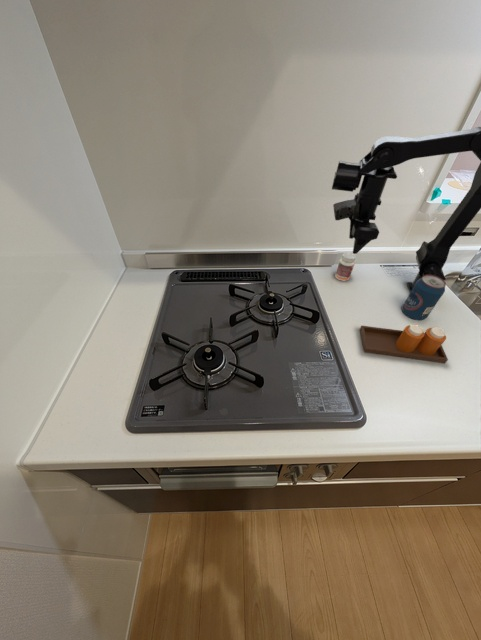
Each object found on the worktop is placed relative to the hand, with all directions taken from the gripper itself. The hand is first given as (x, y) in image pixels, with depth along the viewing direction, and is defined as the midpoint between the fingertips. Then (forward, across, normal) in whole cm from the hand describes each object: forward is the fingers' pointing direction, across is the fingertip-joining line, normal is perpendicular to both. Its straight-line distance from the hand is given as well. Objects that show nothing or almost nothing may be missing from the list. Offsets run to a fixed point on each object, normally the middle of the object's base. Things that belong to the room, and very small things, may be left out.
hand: (352, 245), depth 85 cm
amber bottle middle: (+11, +29, +13) cm, 34 cm away
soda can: (+12, +15, +19) cm, 27 cm away
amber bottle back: (+11, +29, +18) cm, 36 cm away
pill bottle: (+12, 0, 0) cm, 12 cm away
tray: (+12, +29, +12) cm, 33 cm away
